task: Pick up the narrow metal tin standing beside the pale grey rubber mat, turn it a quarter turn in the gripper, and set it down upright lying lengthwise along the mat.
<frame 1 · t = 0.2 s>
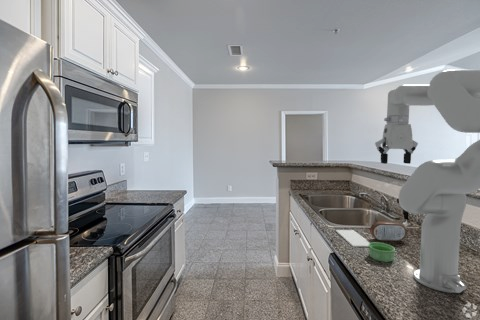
hand: (395, 163, 104), 36 cm above the countertop, tool pointing down, fingers open, 9 cm apart
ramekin: (381, 258, 99), on the countertop
mat: (353, 238, 119), on the countertop
tin: (387, 240, 117), on the countertop
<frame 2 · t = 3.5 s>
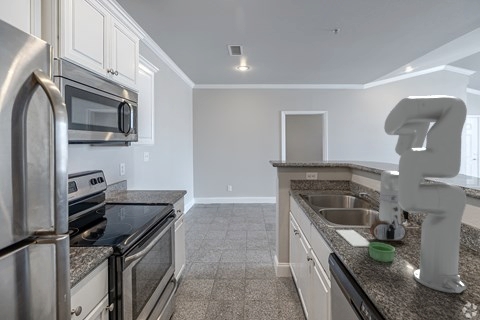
hand: (388, 237, 117), 1 cm above the countertop, tool pointing down, fingers closed on tin, 2 cm apart
tin: (388, 240, 117), on the countertop, touching gripper
everything else where it was.
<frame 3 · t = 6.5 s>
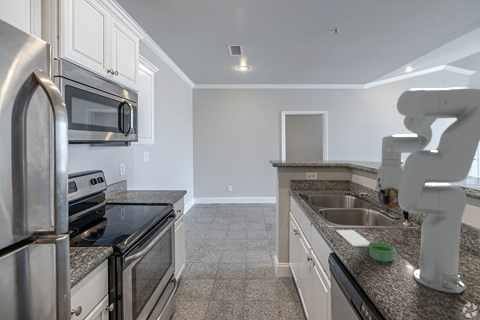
hand: (389, 203, 116), 17 cm above the countertop, tool pointing down, fingers closed on tin, 2 cm apart
tin: (390, 207, 116), point 15 cm above the countertop, touching gripper
everything else where it was.
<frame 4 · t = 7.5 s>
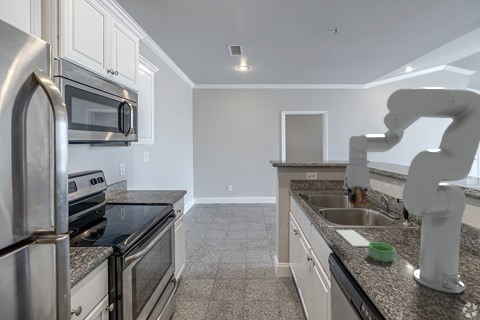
hand: (356, 202, 118), 17 cm above the countertop, tool pointing down, fingers closed on tin, 2 cm apart
tin: (357, 205, 118), point 16 cm above the countertop, touching gripper
everything else where it was.
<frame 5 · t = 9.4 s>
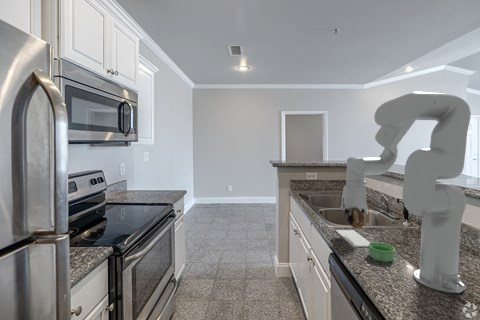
hand: (353, 222, 119), 7 cm above the countertop, tool pointing down, fingers closed on tin, 2 cm apart
tin: (354, 226, 119), point 6 cm above the countertop, touching gripper
everything else where it was.
when the fingers open (3 cm above the countertop, at t = 10.9 s): tin drops 1 cm, resting on mat.
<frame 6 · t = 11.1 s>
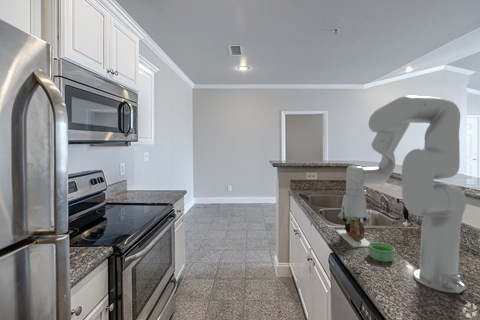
hand: (353, 231, 119), 3 cm above the countertop, tool pointing down, fingers open, 4 cm apart
tin: (354, 237, 119), resting on mat
everything else where it was.
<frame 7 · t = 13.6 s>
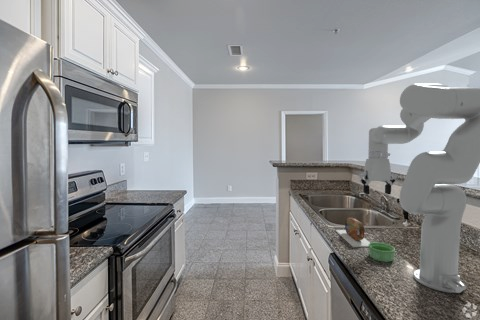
hand: (377, 193, 114), 22 cm above the countertop, tool pointing down, fingers open, 9 cm apart
nothing on the countertop moved.
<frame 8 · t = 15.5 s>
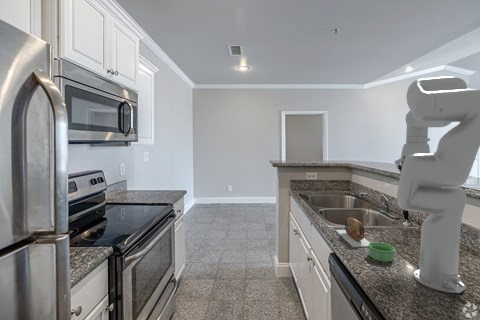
hand: (414, 180, 109), 28 cm above the countertop, tool pointing down, fingers open, 9 cm apart
nothing on the countertop moved.
at the end: tin inside the target area on the mat (0.4 cm from its centre), point 0.4 cm above the mat's base; tin tilted 0°; the gripper is holding nothing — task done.
